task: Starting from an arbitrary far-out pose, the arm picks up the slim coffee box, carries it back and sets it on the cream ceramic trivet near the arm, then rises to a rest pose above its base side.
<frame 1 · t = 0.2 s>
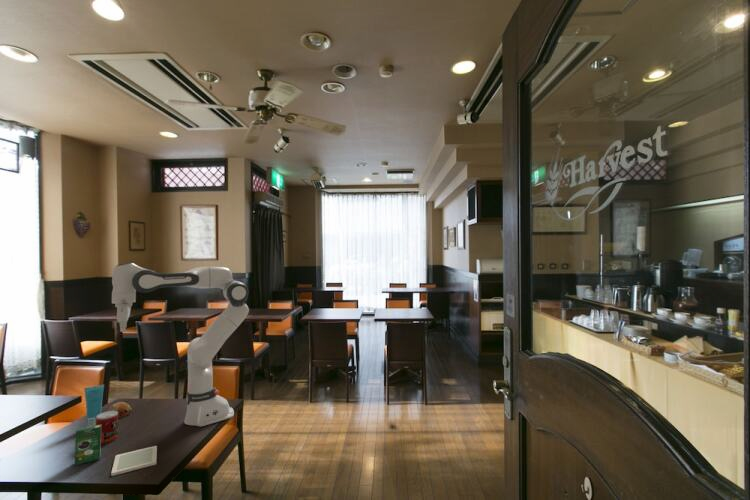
hand: (123, 329, 159), 48 cm above the table, fingers open, 8 cm apart
coffee box: (88, 461, 138), on the table
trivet: (135, 461, 138), on the table
canned food: (107, 440, 155), on the table
bread roll: (119, 415, 180), on the table
tube: (93, 427, 167), on the table
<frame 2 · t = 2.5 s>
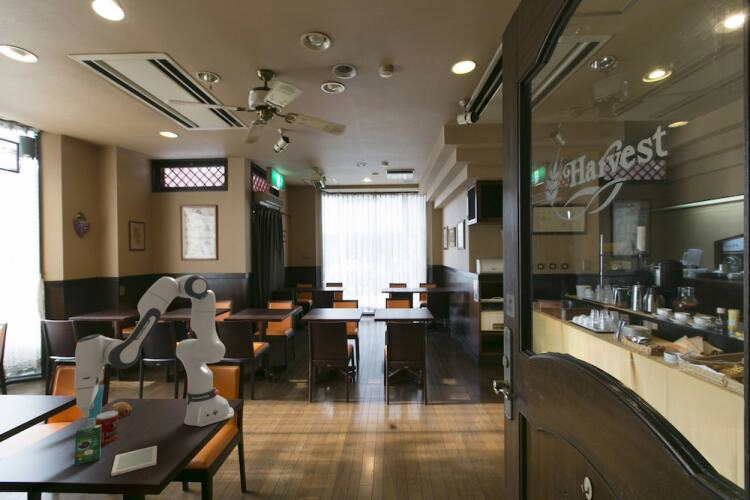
hand: (88, 412, 139), 19 cm above the table, fingers open, 8 cm apart
nothing on the table moved.
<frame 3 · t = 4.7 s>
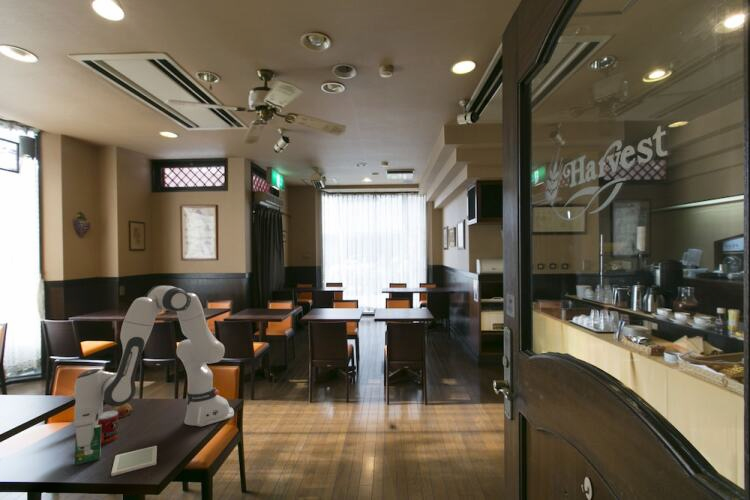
hand: (88, 447, 138), 5 cm above the table, fingers closed on coffee box, 3 cm apart
coffee box: (88, 461, 138), on the table, touching gripper
everything else where it was.
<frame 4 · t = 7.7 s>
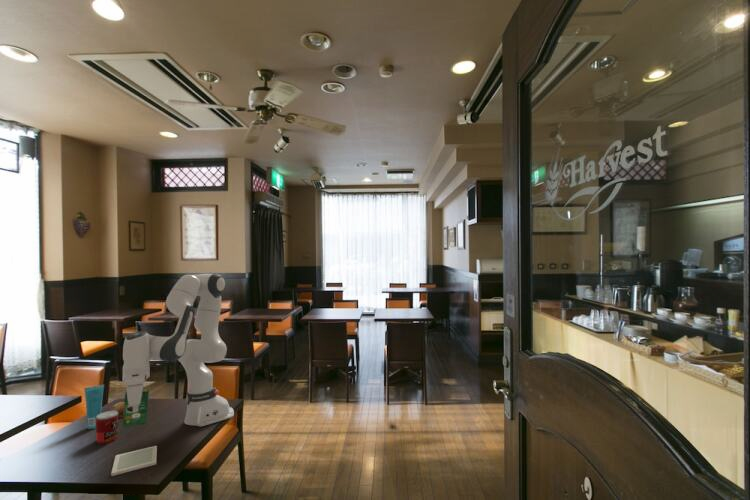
hand: (136, 409, 138), 20 cm above the table, fingers closed on coffee box, 3 cm apart
coffee box: (134, 425, 138), point 14 cm above the table, touching gripper
everything else where it was.
when the fingers open (7 cm above the table, at t = 10.5 s): coffee box stays where it is, resting on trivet.
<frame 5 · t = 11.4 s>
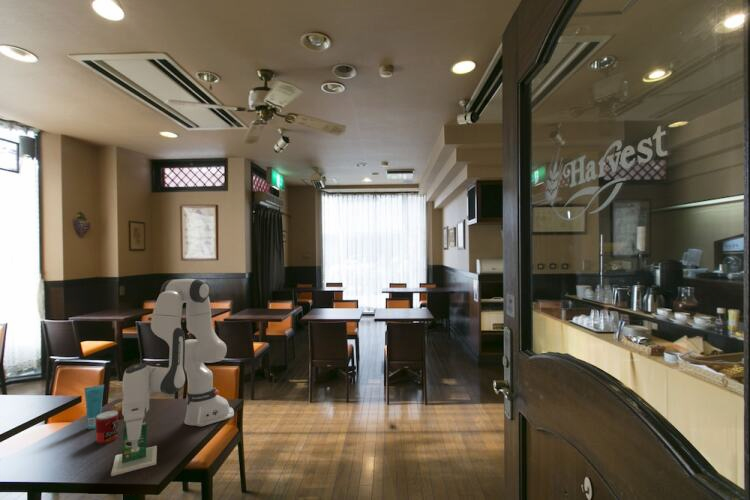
hand: (135, 442, 138), 7 cm above the table, fingers open, 8 cm apart
coffee box: (134, 458, 138), point 1 cm above the table, touching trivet
everything else where it was.
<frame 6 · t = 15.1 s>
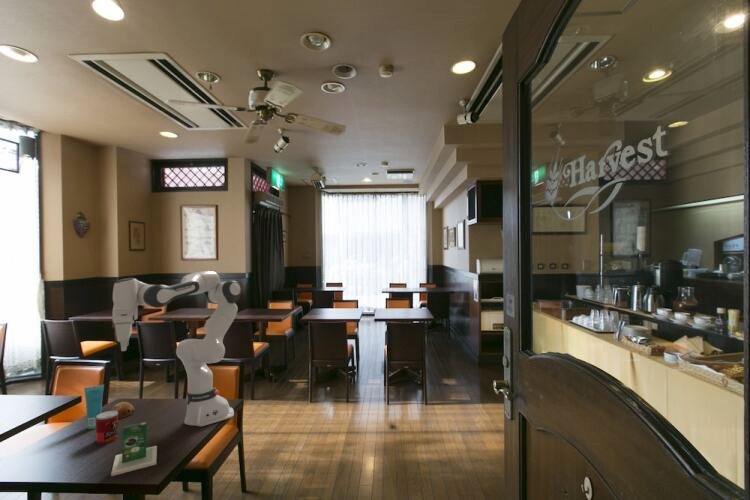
hand: (125, 348, 151), 41 cm above the table, fingers open, 8 cm apart
at the end: coffee box inside the target area on the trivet (0.3 cm from its centre), point 0.9 cm above the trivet's base; the gripper is holding nothing; coffee box moved 18.6 cm from its start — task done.
